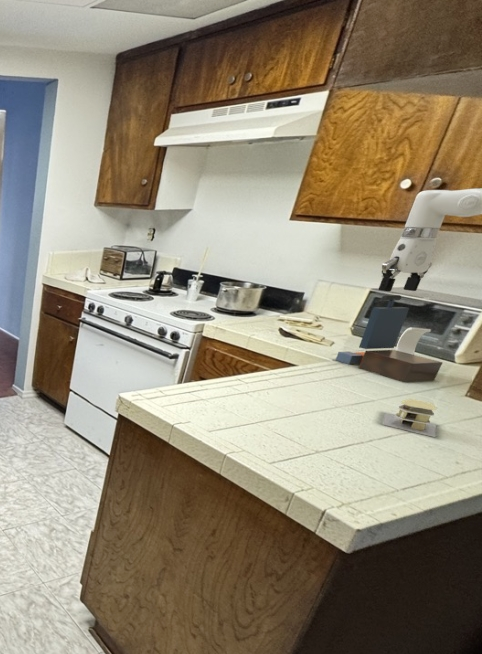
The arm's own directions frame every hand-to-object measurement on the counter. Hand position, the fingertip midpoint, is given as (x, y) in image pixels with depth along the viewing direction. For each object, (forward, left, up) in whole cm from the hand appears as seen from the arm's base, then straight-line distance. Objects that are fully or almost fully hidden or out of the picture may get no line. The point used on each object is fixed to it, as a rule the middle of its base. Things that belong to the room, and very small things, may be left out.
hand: (396, 290), depth 149 cm
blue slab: (-2, +1, -10) cm, 10 cm away
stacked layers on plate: (-42, +41, -25) cm, 64 cm away
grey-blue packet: (+5, +4, -23) cm, 24 cm away
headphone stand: (+2, -19, -25) cm, 32 cm away
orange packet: (+4, -1, -23) cm, 24 cm away
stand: (-10, +1, -25) cm, 27 cm away
